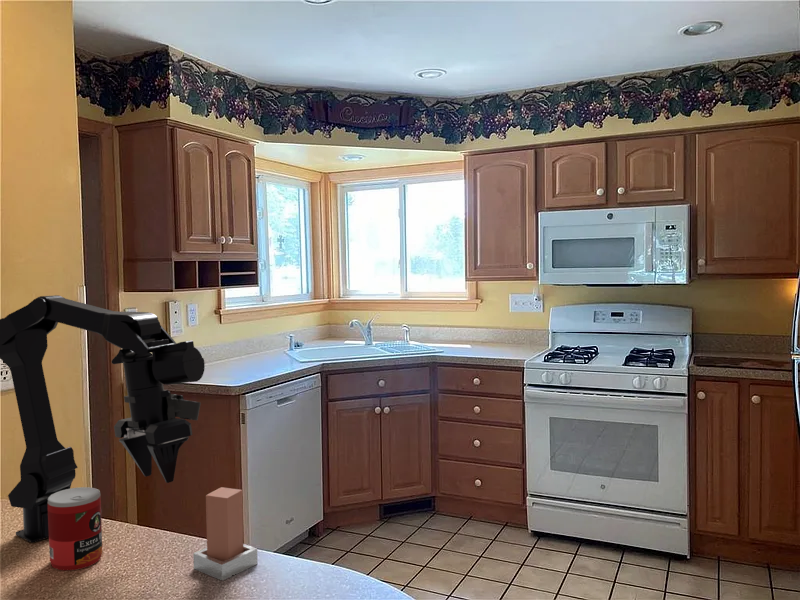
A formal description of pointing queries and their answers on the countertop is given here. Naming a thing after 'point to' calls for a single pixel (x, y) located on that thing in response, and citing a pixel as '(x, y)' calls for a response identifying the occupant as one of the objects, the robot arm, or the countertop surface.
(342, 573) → the countertop surface
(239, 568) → the gray square planter
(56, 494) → the canned food
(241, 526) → the salmon brown rectangular block
